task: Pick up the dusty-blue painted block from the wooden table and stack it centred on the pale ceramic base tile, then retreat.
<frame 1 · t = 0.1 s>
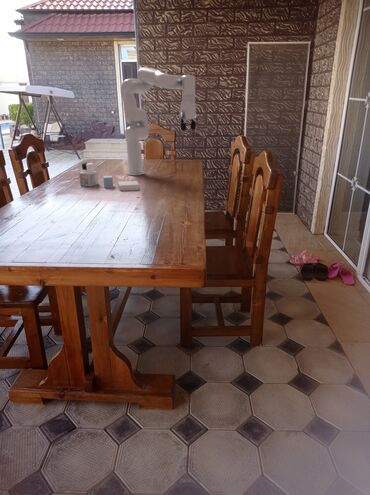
hand: (188, 129, 220), 31 cm above the table, tool pointing down, fingers open, 9 cm apart
base tile: (128, 188, 216), on the table
blue block: (108, 186, 220), on the table
container: (89, 185, 225), on the table
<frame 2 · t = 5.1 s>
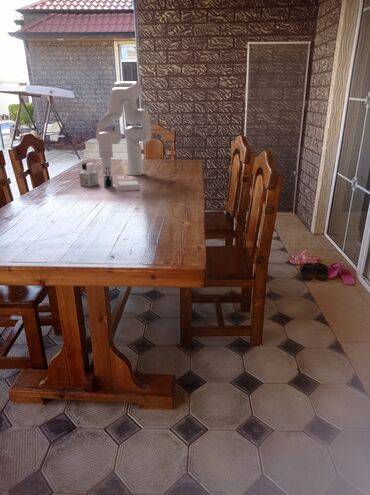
hand: (108, 185, 219), 1 cm above the table, tool pointing down, fingers closed on blue block, 5 cm apart
blue block: (108, 186, 220), on the table, touching gripper
everything else where it was.
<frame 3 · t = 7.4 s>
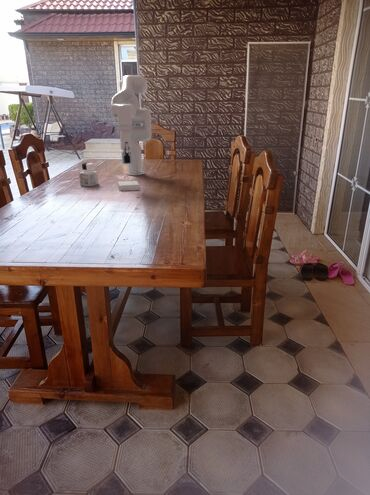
hand: (126, 161, 210), 15 cm above the table, tool pointing down, fingers closed on blue block, 5 cm apart
blue block: (126, 163, 210), point 14 cm above the table, touching gripper
everything else where it was.
when the fingers open (5 cm above the table, at t = 10.0 s): blue block drops 1 cm, resting on base tile.
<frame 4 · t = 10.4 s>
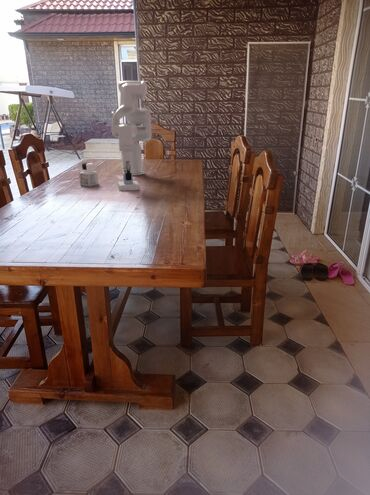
hand: (127, 178, 214), 6 cm above the table, tool pointing down, fingers open, 9 cm apart
blue block: (128, 183, 215), point 3 cm above the table, touching base tile
everything else where it was.
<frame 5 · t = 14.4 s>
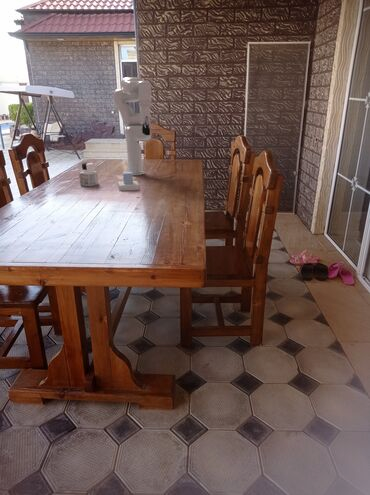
hand: (146, 134, 225), 28 cm above the table, tool pointing down, fingers open, 9 cm apart
nothing on the table moved.
at the end: blue block inside the target area on the base tile (0.0 cm from its centre), point 3.0 cm above the base tile's base; blue block tilted 0°; blue block touching base tile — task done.
